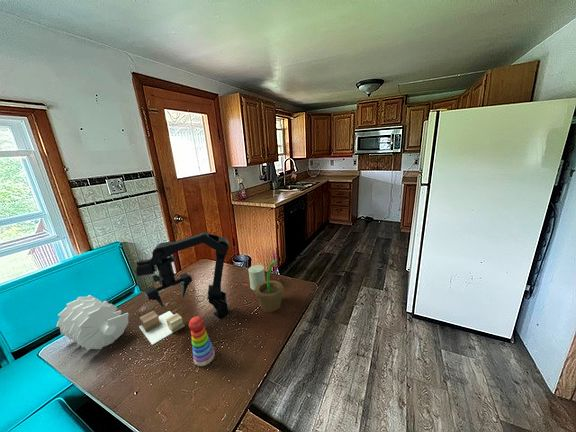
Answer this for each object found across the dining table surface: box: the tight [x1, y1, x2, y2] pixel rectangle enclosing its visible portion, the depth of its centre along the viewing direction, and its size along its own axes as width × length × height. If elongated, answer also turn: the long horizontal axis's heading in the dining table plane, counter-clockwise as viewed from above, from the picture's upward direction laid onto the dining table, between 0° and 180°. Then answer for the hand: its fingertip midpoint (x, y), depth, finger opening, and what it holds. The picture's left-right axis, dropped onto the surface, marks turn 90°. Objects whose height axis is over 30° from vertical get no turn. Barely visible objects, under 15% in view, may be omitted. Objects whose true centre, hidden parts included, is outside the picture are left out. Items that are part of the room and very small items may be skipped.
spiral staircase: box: [55, 294, 130, 351], centre depth 101 cm, size 18×18×25 cm
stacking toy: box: [188, 315, 216, 367], centre depth 87 cm, size 8×8×19 cm
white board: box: [138, 310, 185, 346], centre depth 108 cm, size 17×14×1 cm
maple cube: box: [166, 313, 185, 334], centre depth 105 cm, size 5×5×5 cm
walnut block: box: [139, 310, 160, 332], centre depth 108 cm, size 6×6×5 cm
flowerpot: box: [254, 250, 284, 313], centre depth 113 cm, size 14×14×30 cm
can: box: [248, 264, 266, 291], centre depth 134 cm, size 9×9×12 cm
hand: (173, 301), depth 105 cm, fingers open, 9 cm apart
